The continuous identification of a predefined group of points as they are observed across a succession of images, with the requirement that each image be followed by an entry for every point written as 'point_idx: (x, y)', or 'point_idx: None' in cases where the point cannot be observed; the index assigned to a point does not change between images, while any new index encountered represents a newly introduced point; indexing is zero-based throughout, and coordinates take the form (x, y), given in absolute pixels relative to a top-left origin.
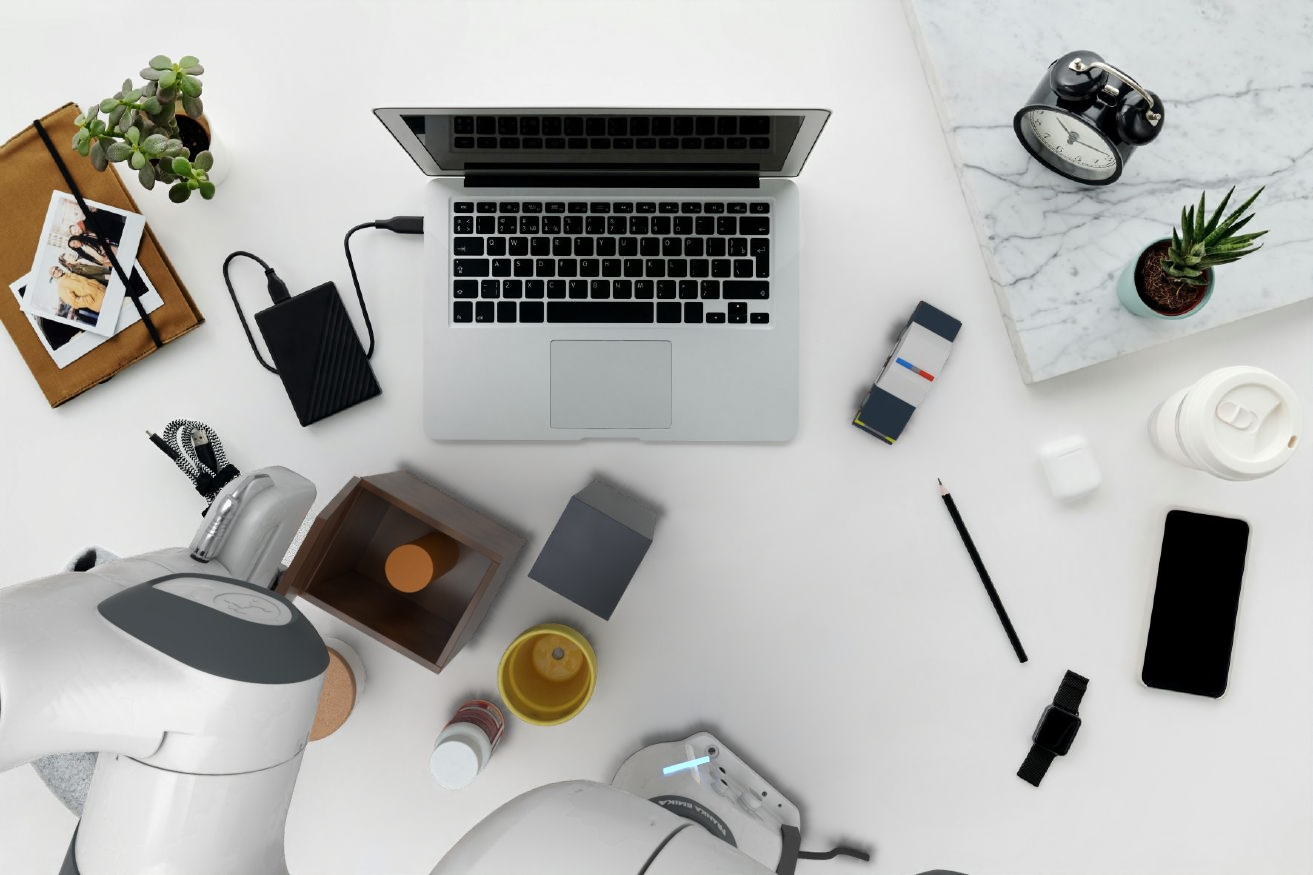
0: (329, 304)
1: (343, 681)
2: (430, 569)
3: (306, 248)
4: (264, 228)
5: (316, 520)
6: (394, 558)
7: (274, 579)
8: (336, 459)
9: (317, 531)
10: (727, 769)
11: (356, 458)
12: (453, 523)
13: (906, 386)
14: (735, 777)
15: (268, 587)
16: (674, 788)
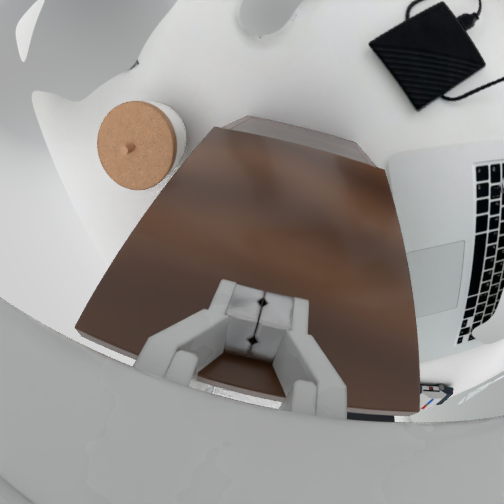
0: (471, 61)
1: (154, 177)
2: None
3: (499, 45)
4: (499, 15)
5: (410, 412)
6: None
7: (270, 362)
8: (348, 78)
9: (389, 414)
10: None
11: (354, 96)
12: None
13: (420, 402)
14: None
15: (246, 352)
16: (199, 382)
